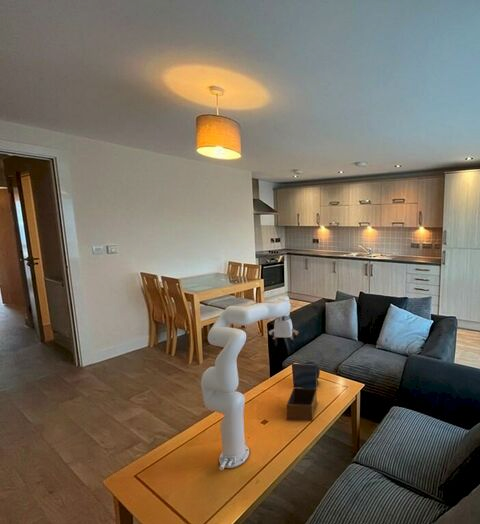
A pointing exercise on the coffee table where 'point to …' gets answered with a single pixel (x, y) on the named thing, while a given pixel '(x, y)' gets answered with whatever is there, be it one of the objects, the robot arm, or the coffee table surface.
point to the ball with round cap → (316, 371)
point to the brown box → (302, 404)
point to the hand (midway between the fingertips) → (284, 345)
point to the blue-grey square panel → (304, 375)
